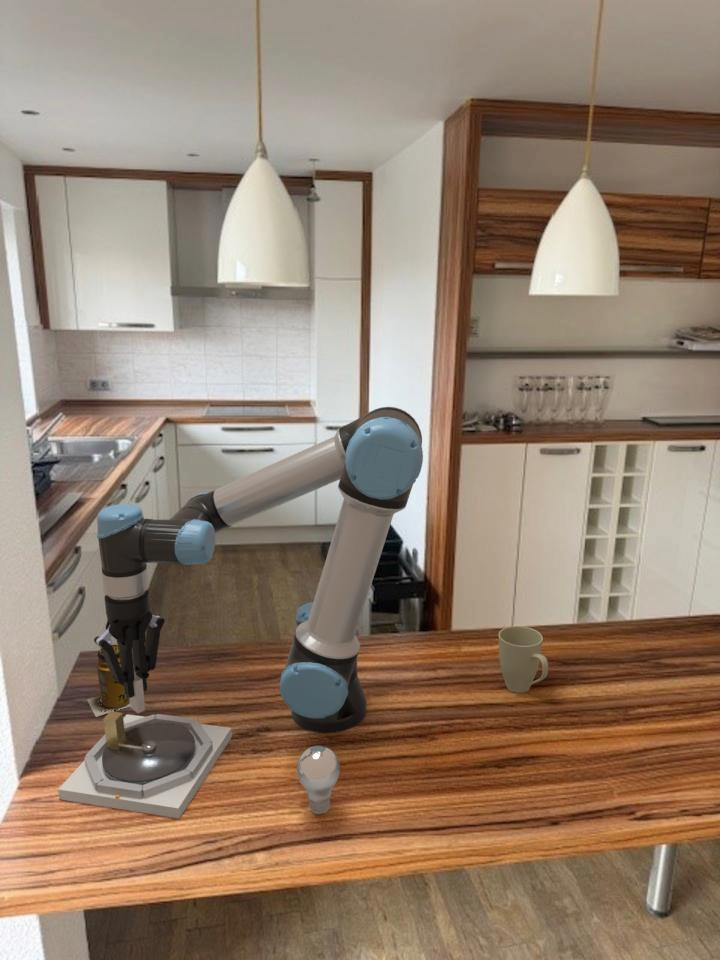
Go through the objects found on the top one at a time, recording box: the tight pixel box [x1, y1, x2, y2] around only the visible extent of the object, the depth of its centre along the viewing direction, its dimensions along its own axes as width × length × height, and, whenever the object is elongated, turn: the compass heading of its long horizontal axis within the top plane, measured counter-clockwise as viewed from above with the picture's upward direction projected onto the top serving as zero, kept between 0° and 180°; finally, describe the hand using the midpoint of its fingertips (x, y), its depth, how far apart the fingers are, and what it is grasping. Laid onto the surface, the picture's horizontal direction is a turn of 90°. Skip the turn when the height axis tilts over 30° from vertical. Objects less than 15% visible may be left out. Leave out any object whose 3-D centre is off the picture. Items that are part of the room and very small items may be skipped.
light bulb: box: [296, 744, 341, 816], centre depth 115 cm, size 7×7×12 cm
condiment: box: [86, 644, 130, 718], centre depth 147 cm, size 7×8×12 cm
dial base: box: [57, 713, 233, 819], centre depth 128 cm, size 22×22×4 cm
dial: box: [102, 711, 196, 785], centre depth 127 cm, size 16×16×7 cm
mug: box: [498, 625, 549, 694], centre depth 150 cm, size 11×10×12 cm
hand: (137, 708), depth 132 cm, fingers closed
